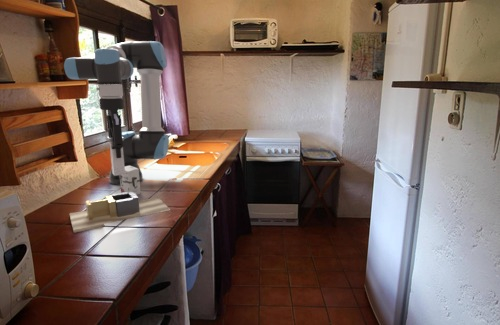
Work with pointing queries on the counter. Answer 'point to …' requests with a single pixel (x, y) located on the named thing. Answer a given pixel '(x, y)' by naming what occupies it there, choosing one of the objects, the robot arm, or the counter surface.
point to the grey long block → (116, 170)
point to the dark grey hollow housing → (126, 203)
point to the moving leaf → (101, 207)
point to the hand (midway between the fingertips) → (118, 165)
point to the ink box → (130, 180)
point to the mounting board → (145, 207)
